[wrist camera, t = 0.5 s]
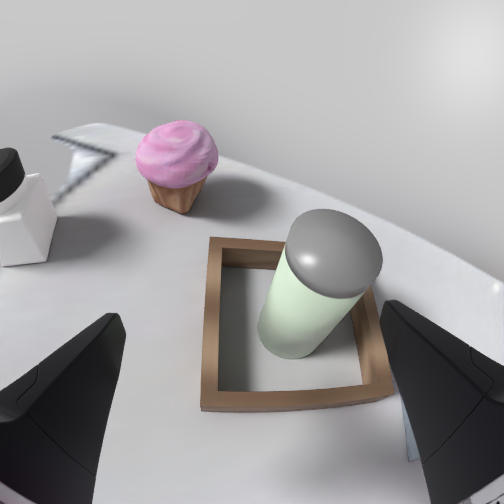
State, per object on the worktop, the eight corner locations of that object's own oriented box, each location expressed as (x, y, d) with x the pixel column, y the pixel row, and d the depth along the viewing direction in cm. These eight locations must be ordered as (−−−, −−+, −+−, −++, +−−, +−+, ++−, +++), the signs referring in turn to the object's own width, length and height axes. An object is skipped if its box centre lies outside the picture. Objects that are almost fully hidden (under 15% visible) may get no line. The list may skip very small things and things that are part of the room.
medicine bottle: (58, 216, 31) (30, 134, 21) (47, 262, 26) (3, 176, 17) (15, 223, 29) (-18, 148, 20) (1, 267, 25) (-47, 191, 15)
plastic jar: (324, 358, 25) (393, 288, 16) (258, 359, 24) (295, 286, 15) (316, 300, 29) (368, 214, 19) (256, 299, 28) (284, 204, 19)
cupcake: (128, 209, 33) (116, 136, 25) (168, 170, 38) (166, 104, 30) (192, 236, 32) (192, 158, 24) (227, 190, 37) (235, 120, 29)
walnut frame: (376, 401, 22) (394, 393, 20) (201, 411, 21) (200, 405, 18) (349, 264, 32) (360, 247, 30) (209, 256, 30) (209, 236, 28)
